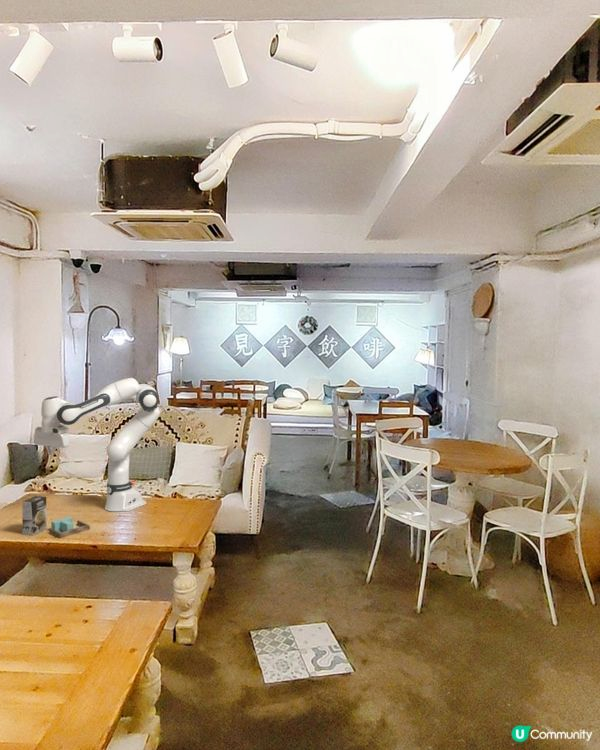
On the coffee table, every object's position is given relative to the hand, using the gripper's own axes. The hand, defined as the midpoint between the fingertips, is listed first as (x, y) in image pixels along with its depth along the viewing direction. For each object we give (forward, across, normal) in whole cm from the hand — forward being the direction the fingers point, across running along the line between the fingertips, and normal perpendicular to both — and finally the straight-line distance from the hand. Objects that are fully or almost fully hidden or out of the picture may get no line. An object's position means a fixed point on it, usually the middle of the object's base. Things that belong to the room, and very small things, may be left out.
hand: (51, 454), depth 260 cm
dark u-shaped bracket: (+33, +22, -12) cm, 41 cm away
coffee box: (+33, +8, -19) cm, 39 cm away
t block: (+33, +20, -12) cm, 41 cm away
